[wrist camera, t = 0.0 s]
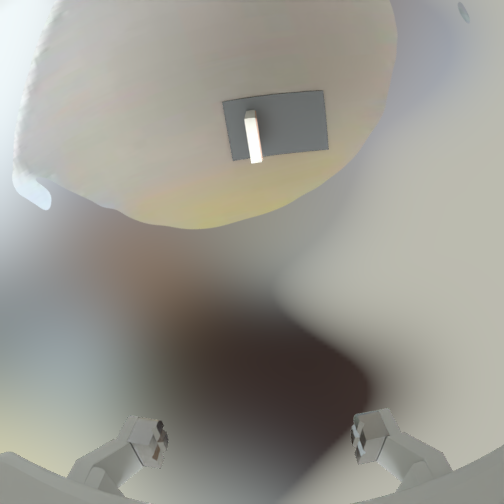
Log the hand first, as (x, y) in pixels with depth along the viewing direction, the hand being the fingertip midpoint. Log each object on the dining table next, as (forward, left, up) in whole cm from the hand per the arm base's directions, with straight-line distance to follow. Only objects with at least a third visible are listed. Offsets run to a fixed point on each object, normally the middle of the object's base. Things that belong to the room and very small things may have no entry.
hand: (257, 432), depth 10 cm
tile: (-3, -2, -51) cm, 52 cm away
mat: (-6, +1, -52) cm, 52 cm away
